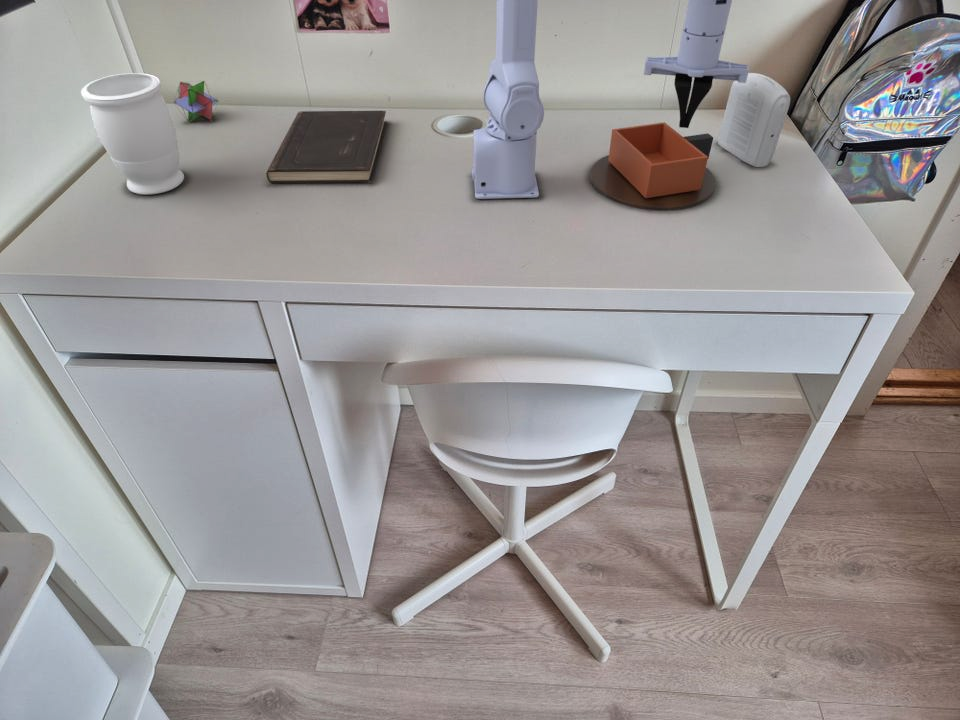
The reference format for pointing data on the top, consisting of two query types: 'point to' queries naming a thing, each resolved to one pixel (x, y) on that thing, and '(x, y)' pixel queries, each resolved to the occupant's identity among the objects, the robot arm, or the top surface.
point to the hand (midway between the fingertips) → (683, 125)
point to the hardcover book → (329, 148)
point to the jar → (136, 130)
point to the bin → (660, 158)
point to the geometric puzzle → (195, 100)
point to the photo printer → (754, 119)
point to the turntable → (625, 193)
